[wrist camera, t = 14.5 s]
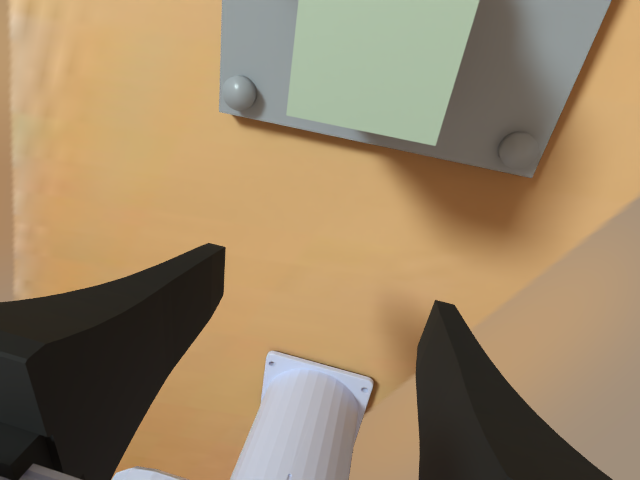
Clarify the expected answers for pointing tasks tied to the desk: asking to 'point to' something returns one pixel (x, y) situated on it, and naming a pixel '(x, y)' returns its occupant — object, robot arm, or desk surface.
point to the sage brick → (378, 64)
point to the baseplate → (469, 88)
